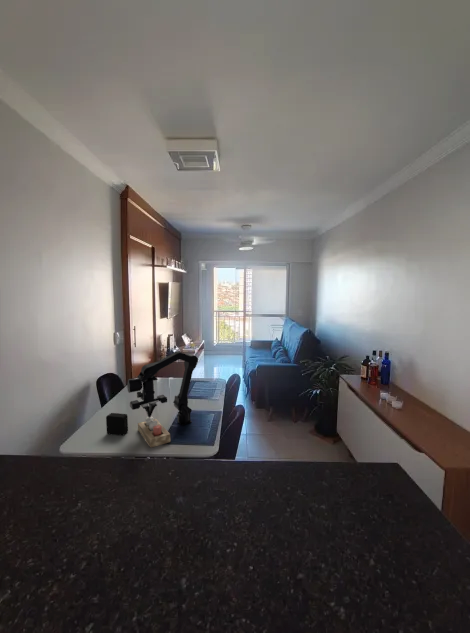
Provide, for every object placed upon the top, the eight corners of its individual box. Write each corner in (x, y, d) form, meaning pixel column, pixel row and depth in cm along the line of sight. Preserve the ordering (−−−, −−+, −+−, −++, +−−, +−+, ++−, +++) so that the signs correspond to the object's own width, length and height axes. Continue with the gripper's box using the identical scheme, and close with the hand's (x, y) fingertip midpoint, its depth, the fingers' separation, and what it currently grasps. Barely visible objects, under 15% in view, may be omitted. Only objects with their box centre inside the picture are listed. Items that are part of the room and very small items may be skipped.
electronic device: (123, 435, 155) (123, 417, 154) (106, 434, 157) (105, 415, 156) (128, 432, 159) (127, 414, 158) (111, 430, 161) (110, 412, 160)
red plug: (160, 432, 152) (159, 424, 151) (162, 435, 148) (162, 427, 148) (152, 434, 149) (152, 426, 149) (154, 437, 146) (154, 429, 146)
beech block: (156, 425, 166) (155, 418, 166) (170, 441, 148) (170, 434, 148) (138, 430, 161) (137, 423, 161) (150, 447, 143) (150, 439, 142)
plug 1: (152, 422, 162) (151, 415, 162) (154, 425, 159) (154, 418, 159) (144, 424, 160) (144, 417, 160) (146, 427, 157) (146, 420, 157)
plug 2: (155, 427, 157) (155, 420, 157) (158, 430, 154) (158, 422, 153) (148, 429, 155) (148, 421, 155) (150, 432, 152) (150, 424, 151)
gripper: (160, 382, 170) (161, 408, 171) (126, 388, 160) (127, 416, 161) (167, 387, 161) (168, 415, 162) (131, 394, 150) (133, 423, 152)
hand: (149, 417), depth 159 cm, fingers closed
